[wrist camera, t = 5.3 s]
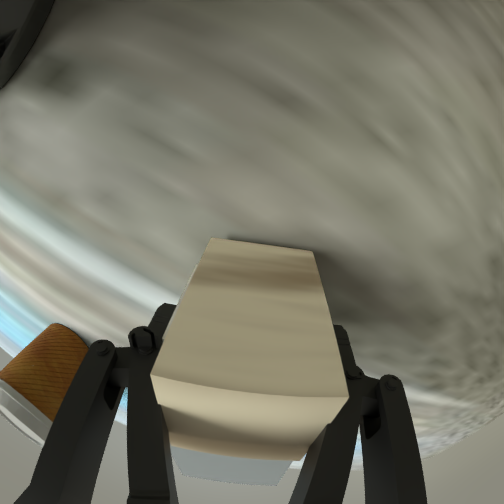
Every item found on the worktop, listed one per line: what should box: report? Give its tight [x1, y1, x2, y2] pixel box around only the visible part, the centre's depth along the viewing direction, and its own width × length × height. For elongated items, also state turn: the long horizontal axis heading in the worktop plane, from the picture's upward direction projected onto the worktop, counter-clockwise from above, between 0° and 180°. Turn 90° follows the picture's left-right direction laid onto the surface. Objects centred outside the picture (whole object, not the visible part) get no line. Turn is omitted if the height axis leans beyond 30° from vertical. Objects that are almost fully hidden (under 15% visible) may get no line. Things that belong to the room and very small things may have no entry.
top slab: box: [170, 444, 292, 486], centre depth 20 cm, size 10×10×4 cm
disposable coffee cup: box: [0, 323, 89, 448], centre depth 18 cm, size 10×10×12 cm
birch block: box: [150, 237, 349, 461], centre depth 13 cm, size 6×6×10 cm
